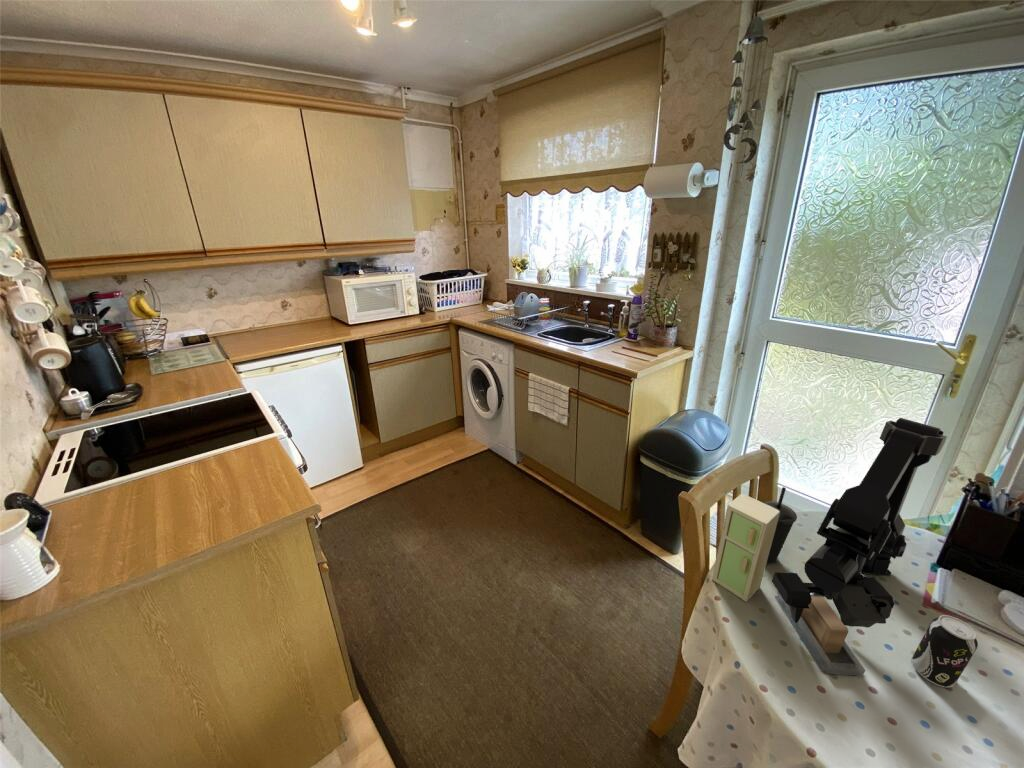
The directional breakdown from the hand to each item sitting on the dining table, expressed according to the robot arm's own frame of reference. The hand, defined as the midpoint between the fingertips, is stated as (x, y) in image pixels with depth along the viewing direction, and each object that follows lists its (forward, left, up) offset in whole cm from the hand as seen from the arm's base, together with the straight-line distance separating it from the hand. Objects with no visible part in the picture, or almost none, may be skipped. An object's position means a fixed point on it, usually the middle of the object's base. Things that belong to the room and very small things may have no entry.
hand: (818, 622), depth 81 cm
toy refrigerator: (-11, -11, -3) cm, 16 cm away
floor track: (0, 0, -3) cm, 3 cm away
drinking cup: (-20, 0, -3) cm, 20 cm away
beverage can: (+7, +16, -3) cm, 18 cm away
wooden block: (0, 0, -2) cm, 2 cm away
